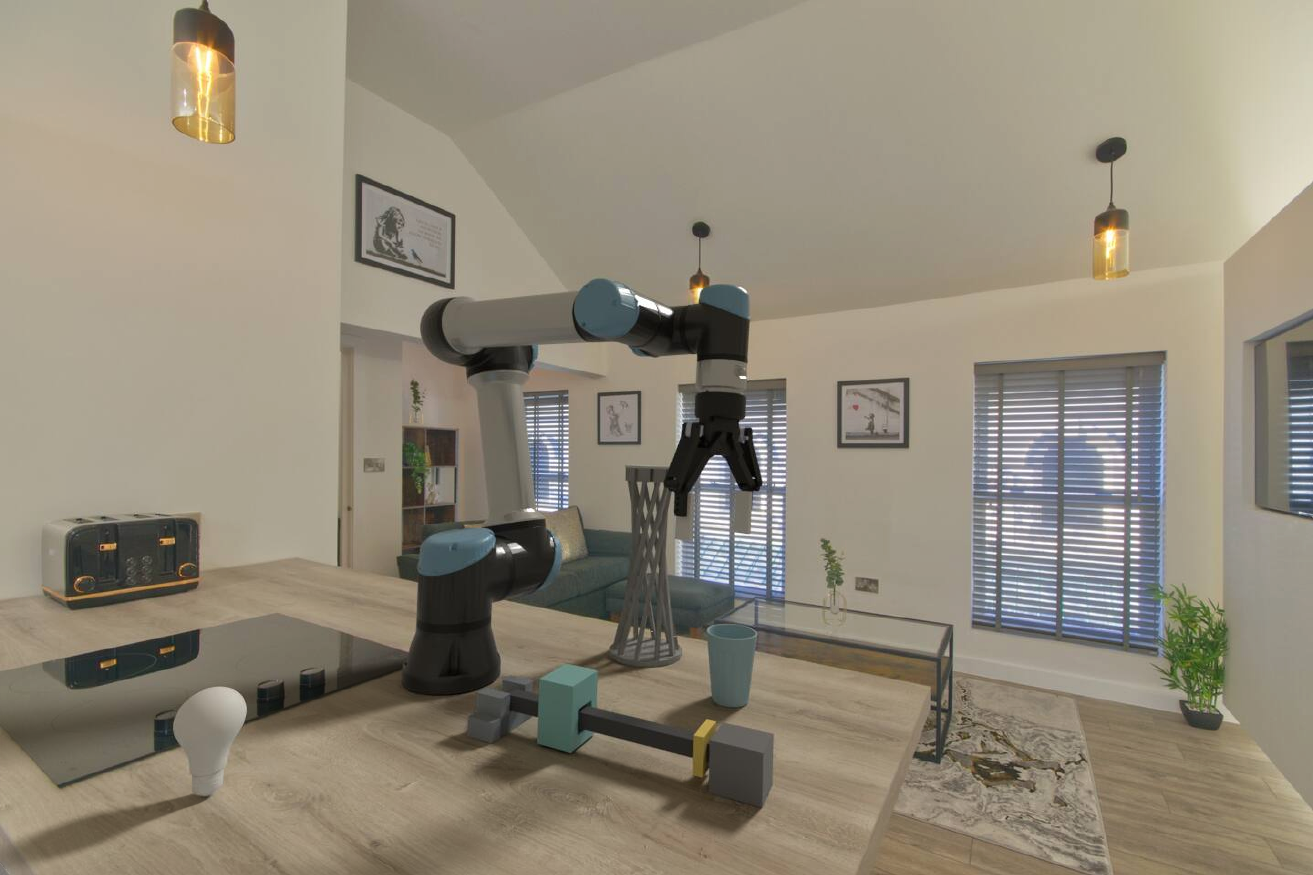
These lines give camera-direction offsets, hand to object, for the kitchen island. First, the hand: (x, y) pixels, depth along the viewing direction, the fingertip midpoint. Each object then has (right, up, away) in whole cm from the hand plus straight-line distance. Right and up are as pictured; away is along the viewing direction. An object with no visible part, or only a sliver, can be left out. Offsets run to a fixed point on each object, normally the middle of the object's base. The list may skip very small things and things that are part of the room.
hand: (714, 536), depth 84 cm
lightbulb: (-56, -23, -24) cm, 65 cm away
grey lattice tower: (-11, -26, +22) cm, 36 cm away
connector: (+1, -25, -20) cm, 32 cm away
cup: (+3, -26, +3) cm, 26 cm away
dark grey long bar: (-13, -23, -14) cm, 30 cm away
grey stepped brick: (-29, -24, -7) cm, 38 cm away
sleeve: (-20, -24, -11) cm, 33 cm away
